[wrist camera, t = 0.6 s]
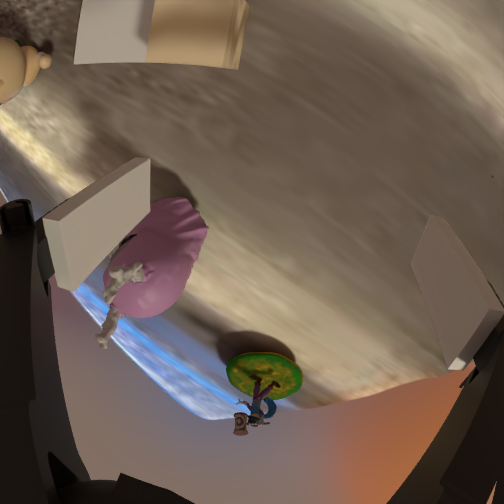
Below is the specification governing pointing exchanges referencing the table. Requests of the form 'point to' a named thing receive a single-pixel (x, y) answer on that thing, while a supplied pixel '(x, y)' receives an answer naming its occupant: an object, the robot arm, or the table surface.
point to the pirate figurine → (262, 384)
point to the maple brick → (197, 32)
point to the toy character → (152, 263)
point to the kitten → (18, 67)
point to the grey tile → (113, 31)
